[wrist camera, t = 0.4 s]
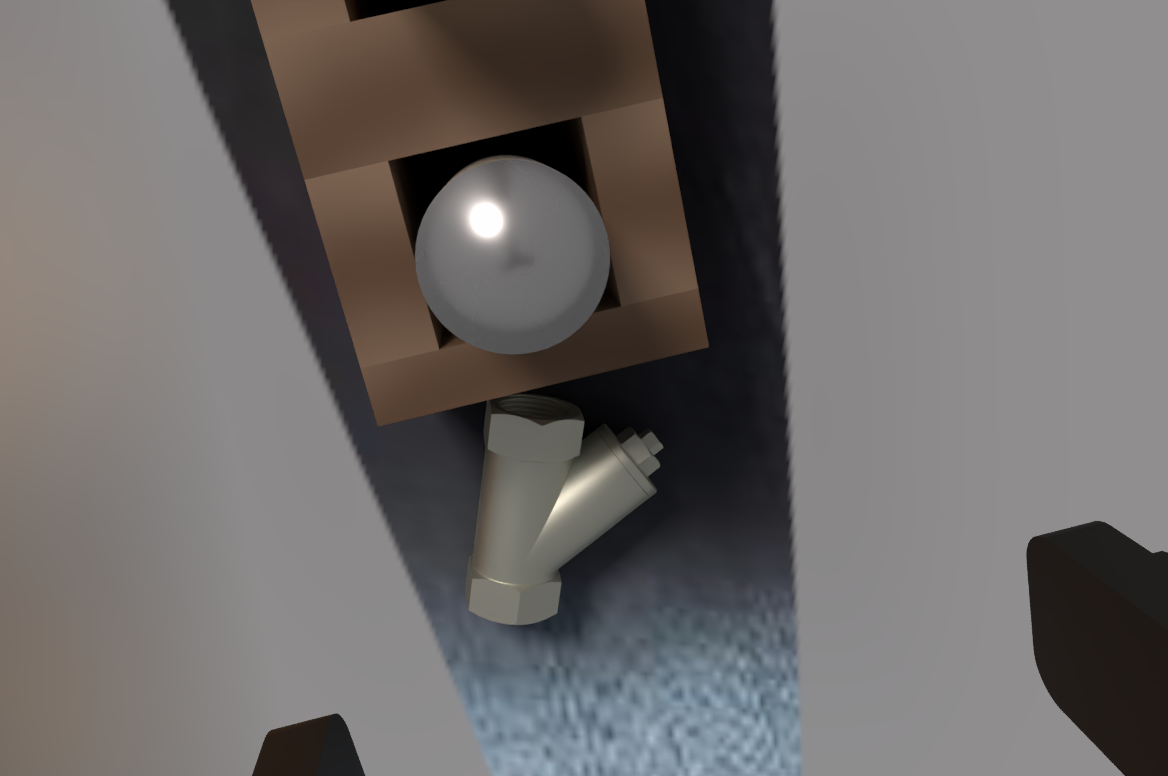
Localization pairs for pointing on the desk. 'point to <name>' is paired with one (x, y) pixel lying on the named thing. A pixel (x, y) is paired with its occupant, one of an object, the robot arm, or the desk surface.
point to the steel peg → (512, 255)
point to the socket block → (465, 114)
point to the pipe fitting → (547, 501)
